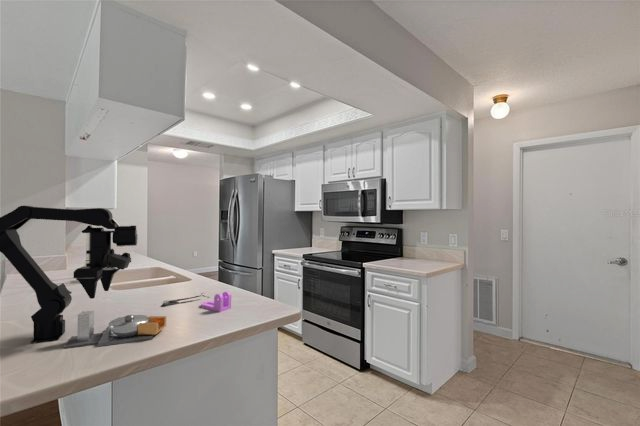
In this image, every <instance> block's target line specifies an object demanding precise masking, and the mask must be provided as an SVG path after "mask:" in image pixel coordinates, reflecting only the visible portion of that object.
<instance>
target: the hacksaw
mask: <svg viewBox="0 0 640 426" xmlns="http://www.w3.org/2000/svg"><path fill="white" fill-rule="evenodd" d="M200 297H204V298H205V297H206V298H209V299H210V298H211V297H210V296H207V295H205V294H204V292H201V293H200V295H195V296H191V297H184V298H178V299H172V300H169V299H168V300H166V302H165V300H164V301H163V303H162V304H161V305H160V306H161V307H163V308H165V307H169V306H174V305H175V306H176V305H179V304H184V303H190V302H195V301H201V300H202V299H201V298H200ZM196 298H200V299H196ZM189 299H192V300H189ZM193 299H194V300H193Z"/></svg>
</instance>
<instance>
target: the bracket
mask: <svg viewBox="0 0 640 426" xmlns="http://www.w3.org/2000/svg"><path fill="white" fill-rule="evenodd" d="M200 305H201V308H202V309H206V310H210V311H214V312H218V313H222V312H225V311H227V310H231V309H232V294H231V292H230V291H228V290H227V291H224V292H223V293H221V292H220V293H216V294H214V298H213V300H207V301H203V302H201V304H200Z"/></svg>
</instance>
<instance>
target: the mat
mask: <svg viewBox="0 0 640 426" xmlns="http://www.w3.org/2000/svg"><path fill="white" fill-rule="evenodd" d="M103 333H104V332H99V333H94V337H93V338H92V339H90V340H89V341H79V342H77V335H74V336H71V337H70V338H69V339H68V341H66V343H65V344H64V345H63V347H62V349H63V350H64V349H72V348H79V347H86V346H93V345H94V346H95V345H98V342H99V340H100V338H101V337H102V335H103Z"/></svg>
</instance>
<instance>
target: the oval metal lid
mask: <svg viewBox="0 0 640 426" xmlns="http://www.w3.org/2000/svg"><path fill="white" fill-rule="evenodd" d="M108 327H109V330H108V334H109V335H110V336H112V337H127V336H133V335H137V334H153V335H157V334H158V333H160V332H161V331H162V330H163V329H164V328H166V327H167V316H164V315H163V316H161V315H160V316H159V315H157V316H154V315H151V316H147V315H143V314H127V315H125V316H121V317H118V318H114V319H112V320H110V321H109V322H108Z"/></svg>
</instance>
